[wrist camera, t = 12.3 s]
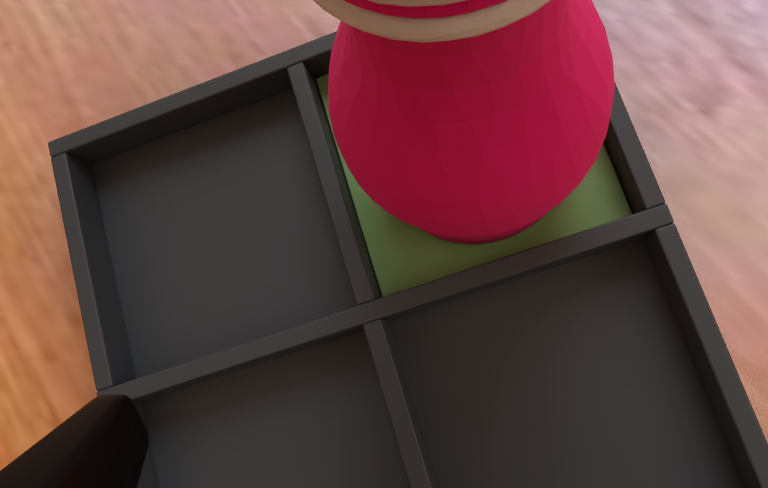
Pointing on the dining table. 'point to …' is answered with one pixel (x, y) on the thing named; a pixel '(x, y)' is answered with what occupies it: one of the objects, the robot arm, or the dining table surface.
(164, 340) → the grid
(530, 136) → the pepper mill
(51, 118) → the dining table surface
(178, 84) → the dining table surface
